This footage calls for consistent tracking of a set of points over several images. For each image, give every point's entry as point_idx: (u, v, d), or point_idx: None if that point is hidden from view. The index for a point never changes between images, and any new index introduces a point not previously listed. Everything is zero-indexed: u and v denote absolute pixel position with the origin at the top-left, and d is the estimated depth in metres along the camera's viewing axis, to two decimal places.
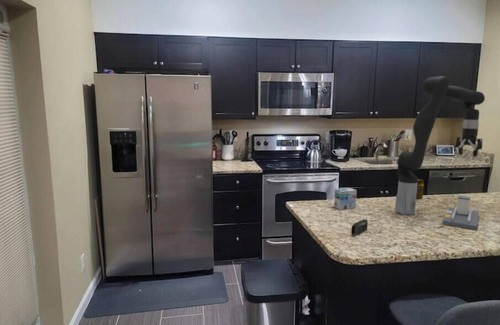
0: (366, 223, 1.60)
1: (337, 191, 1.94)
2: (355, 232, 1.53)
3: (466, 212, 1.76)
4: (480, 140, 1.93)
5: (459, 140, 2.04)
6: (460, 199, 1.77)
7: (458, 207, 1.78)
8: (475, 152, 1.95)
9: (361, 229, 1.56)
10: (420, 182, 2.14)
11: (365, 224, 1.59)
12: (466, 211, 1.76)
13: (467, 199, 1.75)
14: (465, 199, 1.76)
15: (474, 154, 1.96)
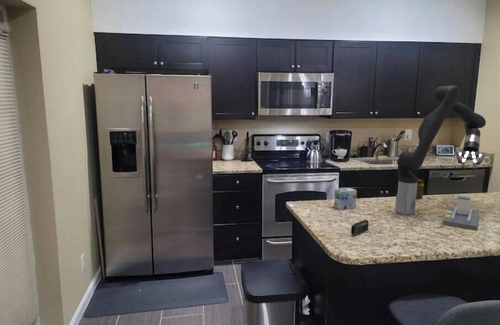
0: (367, 224, 1.60)
1: (337, 191, 1.94)
2: (355, 232, 1.53)
3: (466, 212, 1.76)
4: (484, 156, 1.86)
5: (459, 155, 1.92)
6: (460, 199, 1.77)
7: (458, 207, 1.78)
8: (474, 165, 1.85)
9: (361, 229, 1.56)
10: (420, 182, 2.14)
11: (366, 224, 1.59)
12: (466, 211, 1.76)
13: (467, 199, 1.75)
14: (465, 199, 1.76)
15: (473, 166, 1.84)
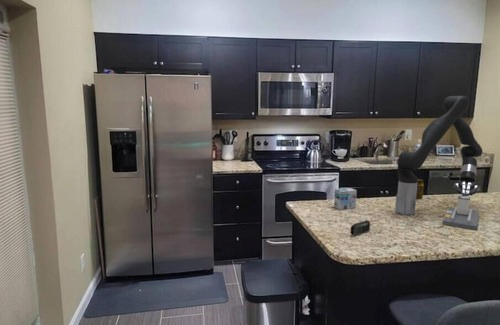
0: (368, 224, 1.59)
1: (337, 191, 1.94)
2: (354, 232, 1.53)
3: (466, 212, 1.76)
4: (478, 189, 1.84)
5: (457, 186, 1.90)
6: (460, 199, 1.77)
7: (458, 207, 1.78)
8: (467, 196, 1.84)
9: (361, 230, 1.55)
10: (420, 182, 2.14)
11: (367, 225, 1.58)
12: (466, 211, 1.76)
13: (467, 199, 1.75)
14: (465, 199, 1.76)
15: None
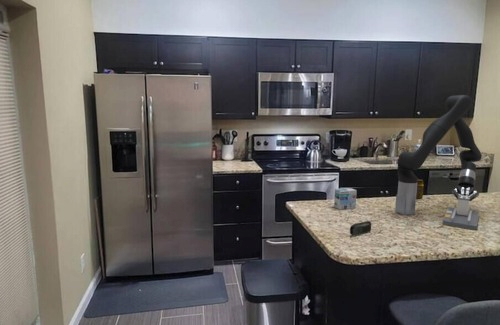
0: (369, 225, 1.58)
1: (337, 191, 1.94)
2: (353, 232, 1.53)
3: (466, 213, 1.75)
4: (477, 194, 1.80)
5: (456, 191, 1.85)
6: (460, 200, 1.76)
7: (458, 207, 1.77)
8: None
9: (361, 230, 1.55)
10: (420, 182, 2.14)
11: (367, 226, 1.57)
12: (466, 212, 1.75)
13: (467, 200, 1.74)
14: (465, 200, 1.75)
15: None
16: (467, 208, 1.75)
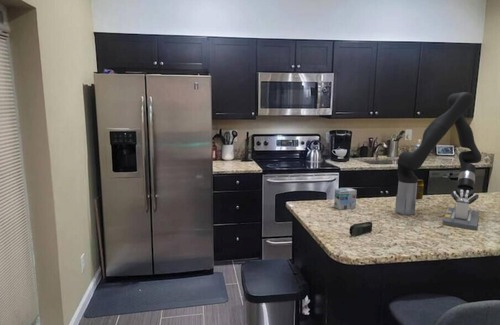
0: (370, 225, 1.57)
1: (337, 191, 1.94)
2: (353, 233, 1.52)
3: (465, 216, 1.70)
4: (477, 197, 1.74)
5: (455, 194, 1.80)
6: (459, 202, 1.71)
7: (457, 210, 1.72)
8: None
9: (361, 230, 1.54)
10: (420, 182, 2.14)
11: (368, 226, 1.57)
12: (465, 215, 1.70)
13: (466, 203, 1.69)
14: (464, 203, 1.69)
15: None
16: (466, 211, 1.69)
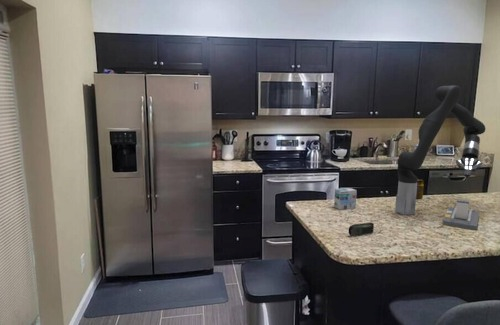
0: (371, 226, 1.56)
1: (337, 191, 1.94)
2: (352, 233, 1.52)
3: (465, 216, 1.70)
4: (481, 164, 1.84)
5: (460, 162, 1.89)
6: (459, 202, 1.71)
7: (457, 210, 1.72)
8: (469, 172, 1.83)
9: (361, 231, 1.54)
10: (420, 182, 2.14)
11: (369, 227, 1.55)
12: (465, 215, 1.70)
13: (466, 203, 1.69)
14: (464, 203, 1.69)
15: (469, 173, 1.83)
16: (466, 211, 1.69)
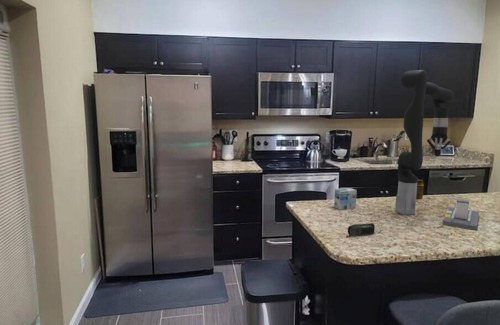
0: (371, 227, 1.55)
1: (337, 191, 1.94)
2: (350, 233, 1.52)
3: (465, 216, 1.70)
4: (450, 142, 1.95)
5: (430, 141, 2.00)
6: (459, 202, 1.71)
7: (457, 210, 1.72)
8: (439, 152, 1.98)
9: (360, 231, 1.53)
10: (420, 182, 2.14)
11: (369, 228, 1.54)
12: (465, 215, 1.70)
13: (466, 203, 1.69)
14: (464, 203, 1.69)
15: (438, 154, 1.98)
16: (466, 211, 1.69)
